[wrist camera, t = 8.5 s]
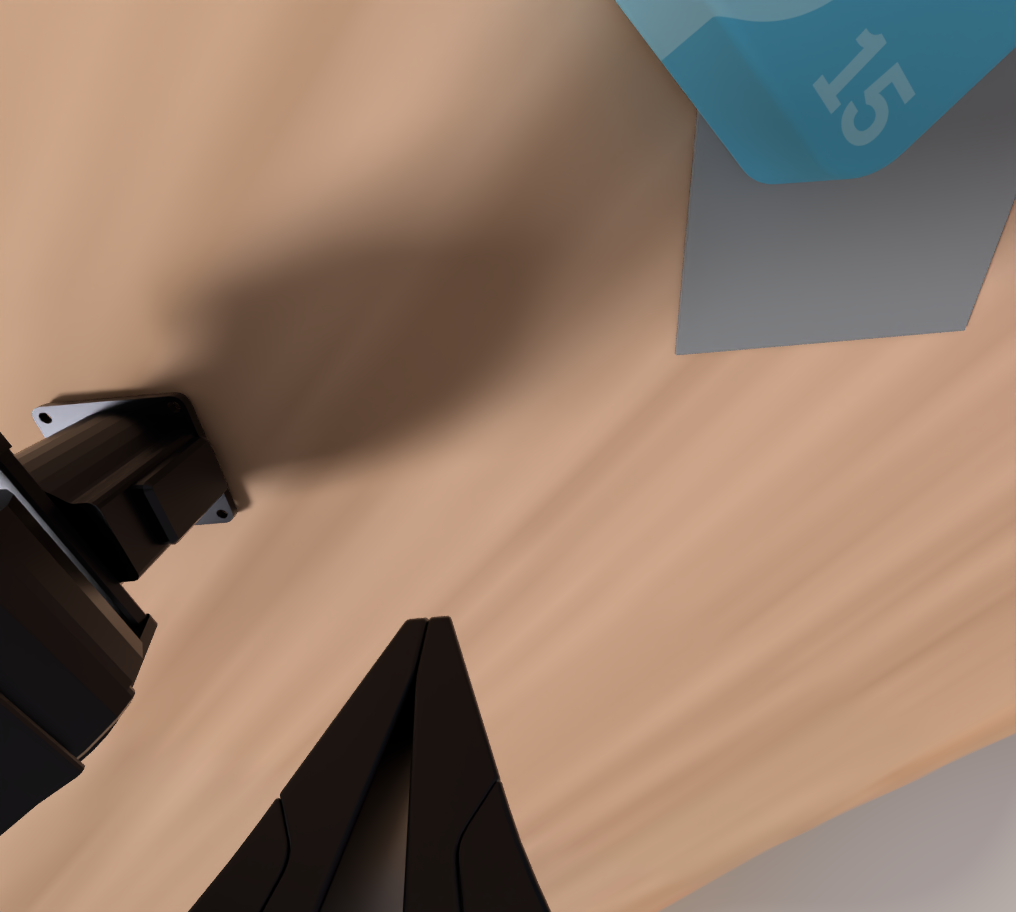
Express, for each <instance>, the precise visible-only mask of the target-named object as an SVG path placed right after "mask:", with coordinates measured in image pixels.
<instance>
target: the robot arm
mask: <svg viewBox="0 0 1016 912" xmlns="http://www.w3.org/2000/svg"><path fill="white" fill-rule="evenodd" d="M173 402H176V403H177V404H179V406H180V409H178V408H177V407H175V405H174V404H173ZM47 414H48V415H49V416H50V417H51V418H52V419H51V418H50V417H49V416H48V415H47ZM32 416H33V419H34V420H35V422H36V424H37V425H38V427H39V429H40V430H41V432H42V434H43V435H44V437H45V439H43V440H41V441H39V442H37V443H35V444H34V445H32V446H30V447H28V448H26V449H24V450H22V451H20V452H18V453H16V454H13V453H12V452H11V451H10V448H11V447H12V446H11V445H10V443H9V442H8V441H7V440H6V438H5V437H4V436H3V435H2V434H1V432H0V836H1V835H2V834H3V833H4V832H5V831H7V830H8V829H9V828H10V827H11V826H12V825H14V824H15V823H16V822H17V821H18V820H20V819H21V818H22V817H23V816H24V815H26V814H27V813H28V812H29V811H30V810H31V809H33V808H34V807H35V806H36V805H37V804H39V803H40V802H42V801H43V800H45V799H46V798H47V797H49V796H50V795H52V794H53V793H55V792H56V791H58V790H59V789H60V788H62V787H63V786H65V785H66V784H68V783H69V782H71V781H72V780H73V779H75V778H76V777H78V776H79V775H80V774H81V773H82V771H83V770H84V767H85V765H84V764H83V763H82V762H81V761H82V760H83V759H84V758H85V757H86V756H87V755H89V754H90V753H91V752H92V751H93V750H94V749H95V748H96V747H97V746H98V745H99V744H100V743H101V741H102V740H103V739H104V738H105V737H106V736H107V735H108V734H109V732H110V731H111V729H112V728H113V727H114V725H115V724H116V723H117V721H118V719H119V718H120V716H121V715H122V714H123V712H124V711H125V710H126V708H127V707H128V706H129V704H130V703H131V701H132V699H133V697H134V694H135V690H134V689H133V685H134V683H135V680H136V678H137V675H138V673H139V670H140V668H141V665H142V663H143V660H144V658H145V655H146V653H147V650H148V648H149V645H150V643H151V640H152V638H153V635H154V633H155V630H156V628H157V623H156V621H155V620H154V619H153V618H152V617H151V615H150V614H145V613H144V612H143V610H142V609H141V608H140V607H139V606H138V604H137V603H136V602H135V601H134V600H133V598H132V597H131V596H130V595H129V594H128V592H127V591H126V590H125V589H124V587H123V586H122V584H123V583H124V582H128V581H136V580H138V579H139V578H140V577H141V576H142V575H143V574H144V573H145V571H146V570H147V569H148V568H149V567H150V566H151V565H152V564H153V563H154V562H155V561H156V560H157V559H158V558H159V557H160V556H161V555H162V553H163V552H164V551H165V550H166V549H167V548H168V547H169V546H170V545H172V544H176V543H178V542H179V541H180V540H181V539H182V538H183V537H184V535H185V534H186V533H187V532H188V531H189V530H190V529H191V528H192V527H193V526H194V525H202V524H214V523H226V522H230V521H231V520H232V519H233V518H234V517H235V515H236V514H237V508H236V506H235V504H234V501H233V499H232V497H231V494H230V492H229V490H228V485H227V482H226V480H225V478H224V475H223V473H222V471H221V468H220V466H219V464H218V461H217V459H216V457H215V454H214V452H213V450H212V447H211V445H210V443H209V441H208V440H207V438H206V436H205V434H204V431H203V429H202V427H201V424H200V422H199V420H198V417H197V415H196V413H195V410H194V408H193V406H192V403H191V402H190V400H189V399H188V398H187V397H186V396H185V395H183V394H181V393H164V394H152V395H141V396H129V397H118V398H106V399H94V400H83V401H71V402H60V403H48V404H44V405H41V406H39V407H37V408H35V409H34V410H33V411H32ZM222 510H224V511H226V512H227V513H224V512H223V511H222ZM188 912H551V910H550V908H549V906H548V904H547V901H546V899H545V897H544V895H543V893H542V890H541V888H540V886H539V884H538V881H537V879H536V876H535V874H534V872H533V869H532V867H531V864H530V862H529V859H528V857H527V855H526V852H525V850H524V847H523V845H522V843H521V840H520V837H519V834H518V831H517V828H516V825H515V822H514V819H513V816H512V813H511V810H510V808H509V804H508V801H507V798H506V795H505V791H504V788H503V785H502V782H501V781H500V776H499V773H498V769H497V766H496V763H495V760H494V756H493V753H492V750H491V746H490V743H489V740H488V737H487V733H486V730H485V727H484V724H483V720H482V717H481V714H480V711H479V707H478V704H477V701H476V697H475V694H474V691H473V688H472V684H471V681H470V678H469V675H468V671H467V668H466V665H465V662H464V658H463V655H462V652H461V648H460V645H459V642H458V639H457V635H456V632H455V629H454V626H453V622H452V619H451V617H449V616H440V617H431V618H430V619H427V618H416V619H408V620H407V621H406V622H405V623H404V624H403V625H402V627H401V628H400V629H399V631H398V632H397V634H396V635H395V636H394V638H393V639H392V640H391V642H390V643H389V645H388V646H387V647H386V649H385V650H384V651H383V653H382V654H381V656H380V657H379V658H378V660H377V661H376V662H375V664H374V665H373V667H372V668H371V669H370V671H369V672H368V673H367V675H366V676H365V678H364V679H363V680H362V682H361V683H360V684H359V686H358V687H357V689H356V690H355V691H354V693H353V694H352V695H351V697H350V698H349V700H348V701H347V702H346V704H345V705H344V706H343V708H342V709H341V711H340V712H339V713H338V715H337V716H336V717H335V719H334V720H333V722H332V723H331V724H330V726H329V727H328V728H327V730H326V731H325V733H324V734H323V735H322V737H321V738H320V739H319V741H318V742H317V744H316V745H315V746H314V748H313V749H312V750H311V752H310V753H309V755H308V756H307V757H306V759H305V760H304V761H303V763H302V764H301V766H300V767H299V768H298V770H297V771H296V772H295V774H294V775H293V776H292V778H291V779H290V781H289V782H288V783H287V785H286V786H285V787H284V789H283V790H282V792H281V793H280V798H277V799H276V800H275V801H274V802H273V804H272V805H271V806H270V808H269V809H268V811H267V812H266V813H265V815H264V816H263V817H262V819H261V820H260V821H259V823H258V824H257V826H256V827H255V828H254V829H253V831H252V832H251V833H250V835H249V836H248V837H247V839H246V840H245V841H244V843H243V844H242V845H241V847H240V848H239V849H238V851H237V852H236V853H235V855H234V856H233V857H232V858H231V860H230V861H229V862H228V864H227V865H226V866H225V867H224V868H223V870H222V871H221V872H220V873H219V875H218V876H217V877H216V878H215V880H214V881H213V882H212V883H211V884H210V886H209V887H208V888H207V889H206V891H205V892H204V893H203V894H202V895H201V897H200V898H199V899H198V900H197V902H196V903H195V904H194V905H193V906H192V908H191V909H190V910H189V911H188Z"/></svg>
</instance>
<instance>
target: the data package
mask: <svg viewBox="0 0 1016 912" xmlns="http://www.w3.org/2000/svg"><path fill="white" fill-rule="evenodd" d="M615 1H616V3H617V4H618V5H619V6H620V8H621V9H622V10H623V12H624V13H625V14H626V16H627V17H628V18H629V20H630V21H631V22H632V24H633V25H634V26H635V28H636V29H637V30H638V32H639V33H640V34H641V36H642V37H643V38H644V40H645V41H646V42H647V44H648V45H649V46H650V48H651V49H652V50H653V52H654V53H655V54H656V55H657V57H658V58H659V59H660V61H661V62H662V63H663V65H664V66H665V67H666V69H667V70H668V71H669V73H670V74H671V75H672V77H673V78H674V79H675V81H676V82H677V83H678V85H679V86H680V87H681V89H682V90H683V91H684V93H685V94H686V95H687V97H688V98H689V99H690V100H691V102H692V103H693V104H694V106H695V107H696V108H697V110H698V111H699V112H700V114H701V115H702V116H703V118H704V119H705V120H706V122H707V123H708V124H709V126H710V127H711V128H712V130H713V131H714V132H715V134H716V135H717V136H718V138H719V139H720V140H721V142H722V143H723V144H724V145H725V147H726V148H727V149H728V151H729V152H730V153H731V155H732V156H733V157H734V159H735V160H736V161H737V163H738V164H739V165H740V167H741V168H742V169H743V171H744V172H745V173H746V174H747V175H748V176H749V177H751V178H752V179H754V180H756V181H758V182H761V183H765V184H786V183H800V182H814V181H828V180H843V179H854V178H860V177H863V176H867V175H870V174H872V173H874V172H877V171H879V170H880V169H882V168H884V167H886V166H887V165H889V164H890V163H891V162H893V161H894V160H895V159H897V158H898V157H899V156H900V155H901V154H902V153H904V152H905V151H906V150H907V149H908V148H909V147H910V146H911V145H912V144H913V143H914V142H915V141H916V140H917V139H918V138H920V137H921V136H922V135H923V134H924V133H925V132H926V131H927V130H928V129H929V128H930V127H931V126H932V125H933V124H934V123H935V122H937V121H938V120H939V119H940V118H941V117H942V116H943V115H944V114H945V113H946V112H947V111H948V110H949V109H950V108H951V107H952V106H954V105H955V104H956V103H957V102H958V101H959V100H960V99H961V98H962V97H963V96H964V95H965V94H966V93H967V92H968V91H969V90H971V89H972V88H973V87H974V86H975V85H976V84H977V83H978V82H979V81H980V80H981V79H982V78H983V77H984V76H985V75H986V74H988V73H989V72H990V71H991V70H992V69H993V68H994V67H995V66H996V65H997V64H998V63H999V62H1000V61H1001V60H1002V59H1003V58H1005V57H1006V56H1007V55H1008V54H1009V53H1010V52H1011V51H1012V50H1013V49H1014V48H1015V47H1016V0H615Z"/></svg>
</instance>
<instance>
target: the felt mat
mask: <svg viewBox="0 0 1016 912" xmlns="http://www.w3.org/2000/svg"><path fill="white" fill-rule="evenodd" d="M1015 197H1016V47H1015V48H1014V49H1013V50H1012V51H1011V52H1010V53H1009V54H1008V55H1007V56H1006V57H1005V58H1003V59H1002V60H1001V61H1000V62H999V63H998V64H997V65H996V66H995V67H994V68H993V69H992V70H991V71H990V72H989V73H988V74H986V75H985V76H984V77H983V78H982V79H981V80H980V81H979V82H978V83H977V84H976V85H975V86H974V87H973V88H972V89H971V90H969V91H968V92H967V93H966V94H965V95H964V96H963V97H962V98H961V99H960V100H959V101H958V102H957V103H956V104H955V105H954V106H952V107H951V108H950V109H949V110H948V111H947V112H946V113H945V114H944V115H943V116H942V117H941V118H940V119H939V120H938V121H937V122H935V123H934V124H933V125H932V126H931V127H930V128H929V129H928V130H927V131H926V132H925V133H924V134H923V135H922V136H921V137H920V138H918V139H917V140H916V141H915V142H914V143H913V144H912V145H911V146H910V147H909V148H908V149H907V150H906V151H905V152H904V153H902V154H901V155H900V156H899V157H898V158H897V159H895V160H894V161H893V162H891V163H890V164H889V165H887V166H886V167H884V168H882V169H880V170H879V171H877V172H874V173H872V174H870V175H867V176H863V177H860V178H854V179H843V180H828V181H814V182H800V183H786V184H765V183H761V182H758V181H756V180H754V179H752V178H751V177H749V176H748V175H747V174H746V173H745V172H744V171H743V169H742V168H741V167H740V165H739V164H738V163H737V161H736V160H735V159H734V157H733V156H732V155H731V153H730V152H729V151H728V149H727V148H726V147H725V145H724V144H723V143H722V142H721V140H720V139H719V138H718V136H717V135H716V134H715V132H714V131H713V130H712V128H711V127H710V126H709V124H708V123H707V122H706V120H705V119H704V118H703V116H702V115H701V114H700V112H699V111H698V110H697V119H696V130H695V141H694V152H693V163H692V174H691V185H690V196H689V206H688V217H687V228H686V239H685V250H684V261H683V272H682V283H681V294H680V305H679V315H678V326H677V337H676V348H675V354H676V355H685V354H696V353H708V352H720V351H731V350H743V349H755V348H766V347H778V346H790V345H801V344H813V343H825V342H836V341H848V340H859V339H871V338H883V337H894V336H906V335H918V334H929V333H941V332H953V331H964V330H965V328H966V325H967V323H968V320H969V317H970V315H971V312H972V310H973V307H974V304H975V302H976V299H977V297H978V294H979V291H980V289H981V286H982V283H983V281H984V278H985V276H986V273H987V270H988V268H989V265H990V262H991V260H992V257H993V255H994V252H995V249H996V247H997V244H998V242H999V239H1000V236H1001V234H1002V231H1003V228H1004V226H1005V223H1006V221H1007V218H1008V215H1009V213H1010V210H1011V207H1012V205H1013V202H1014V200H1015Z"/></svg>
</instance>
